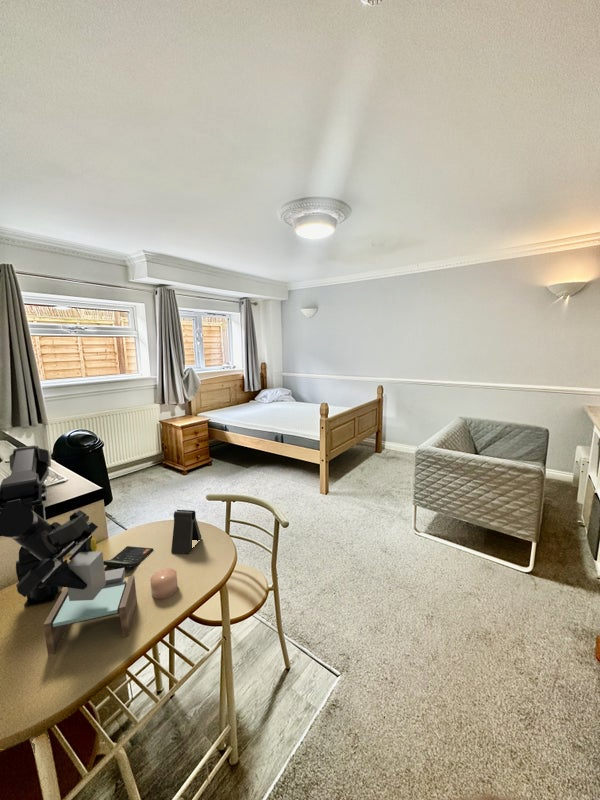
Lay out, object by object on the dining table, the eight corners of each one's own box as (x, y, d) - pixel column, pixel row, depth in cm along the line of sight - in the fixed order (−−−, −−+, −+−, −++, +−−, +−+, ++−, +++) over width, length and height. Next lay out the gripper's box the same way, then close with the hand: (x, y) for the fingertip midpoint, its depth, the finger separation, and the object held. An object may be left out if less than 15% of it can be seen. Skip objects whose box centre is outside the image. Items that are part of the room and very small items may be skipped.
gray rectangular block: (69, 601, 71) (64, 566, 70) (83, 584, 76) (79, 552, 75) (93, 599, 71) (89, 565, 70) (106, 583, 76) (102, 551, 75)
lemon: (84, 554, 105) (81, 530, 104) (101, 554, 105) (99, 530, 104) (72, 565, 100) (68, 540, 98) (90, 565, 99) (87, 540, 98)
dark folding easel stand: (189, 554, 104) (186, 518, 102) (171, 553, 105) (168, 517, 103) (201, 538, 112) (199, 505, 111) (185, 537, 113) (182, 504, 112)
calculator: (153, 550, 107) (152, 542, 106) (129, 574, 95) (128, 565, 95) (127, 548, 108) (126, 539, 108) (100, 571, 97) (99, 562, 97)
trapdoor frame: (48, 655, 70) (43, 624, 69) (67, 616, 80) (63, 588, 79) (128, 636, 74) (125, 606, 73) (137, 601, 84) (134, 575, 83)
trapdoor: (53, 628, 69) (52, 618, 69) (76, 585, 82) (74, 576, 82) (117, 614, 73) (116, 604, 72) (129, 575, 86) (128, 566, 85)
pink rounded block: (150, 601, 84) (148, 587, 84) (153, 584, 90) (151, 571, 90) (177, 595, 86) (175, 581, 85) (178, 579, 92) (177, 566, 92)
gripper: (23, 531, 61) (91, 583, 63) (85, 489, 80) (136, 530, 81) (-14, 572, 62) (54, 622, 64) (55, 521, 80) (107, 561, 82)
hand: (93, 578), depth 73 cm, fingers closed on gray rectangular block, 5 cm apart
